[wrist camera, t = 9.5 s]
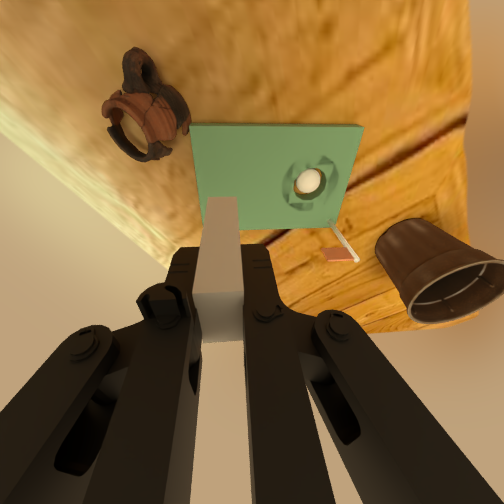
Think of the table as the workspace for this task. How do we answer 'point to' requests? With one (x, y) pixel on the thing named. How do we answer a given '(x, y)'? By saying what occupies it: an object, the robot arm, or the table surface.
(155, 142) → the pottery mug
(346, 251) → the flag pin
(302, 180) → the ball
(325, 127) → the green
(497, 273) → the plant pot
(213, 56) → the table surface
